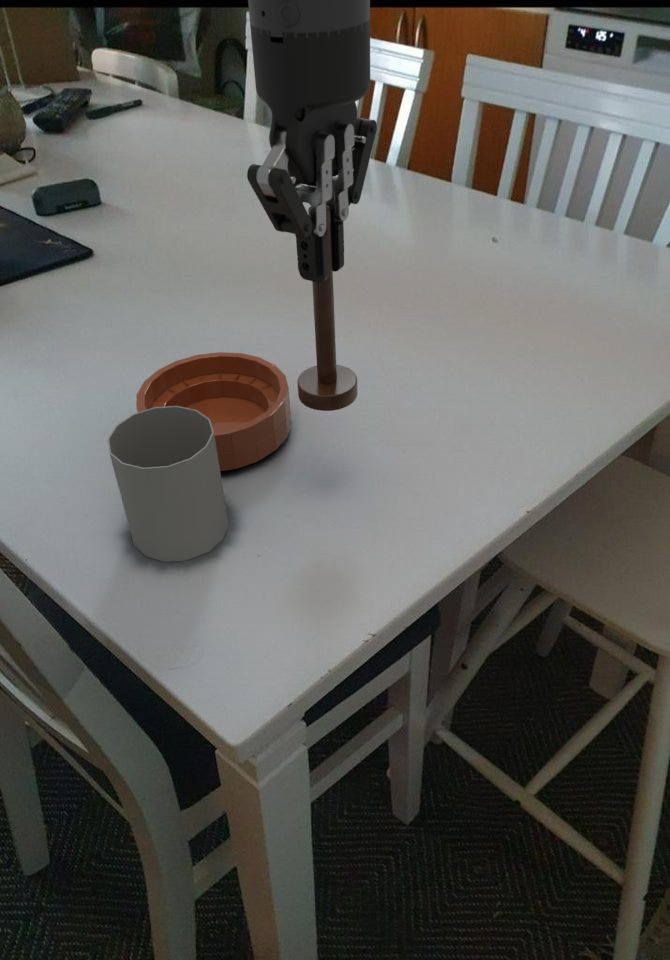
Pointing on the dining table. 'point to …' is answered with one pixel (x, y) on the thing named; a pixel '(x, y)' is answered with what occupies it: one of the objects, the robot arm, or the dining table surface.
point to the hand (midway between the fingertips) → (321, 272)
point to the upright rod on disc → (326, 350)
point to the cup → (170, 482)
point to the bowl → (227, 401)
